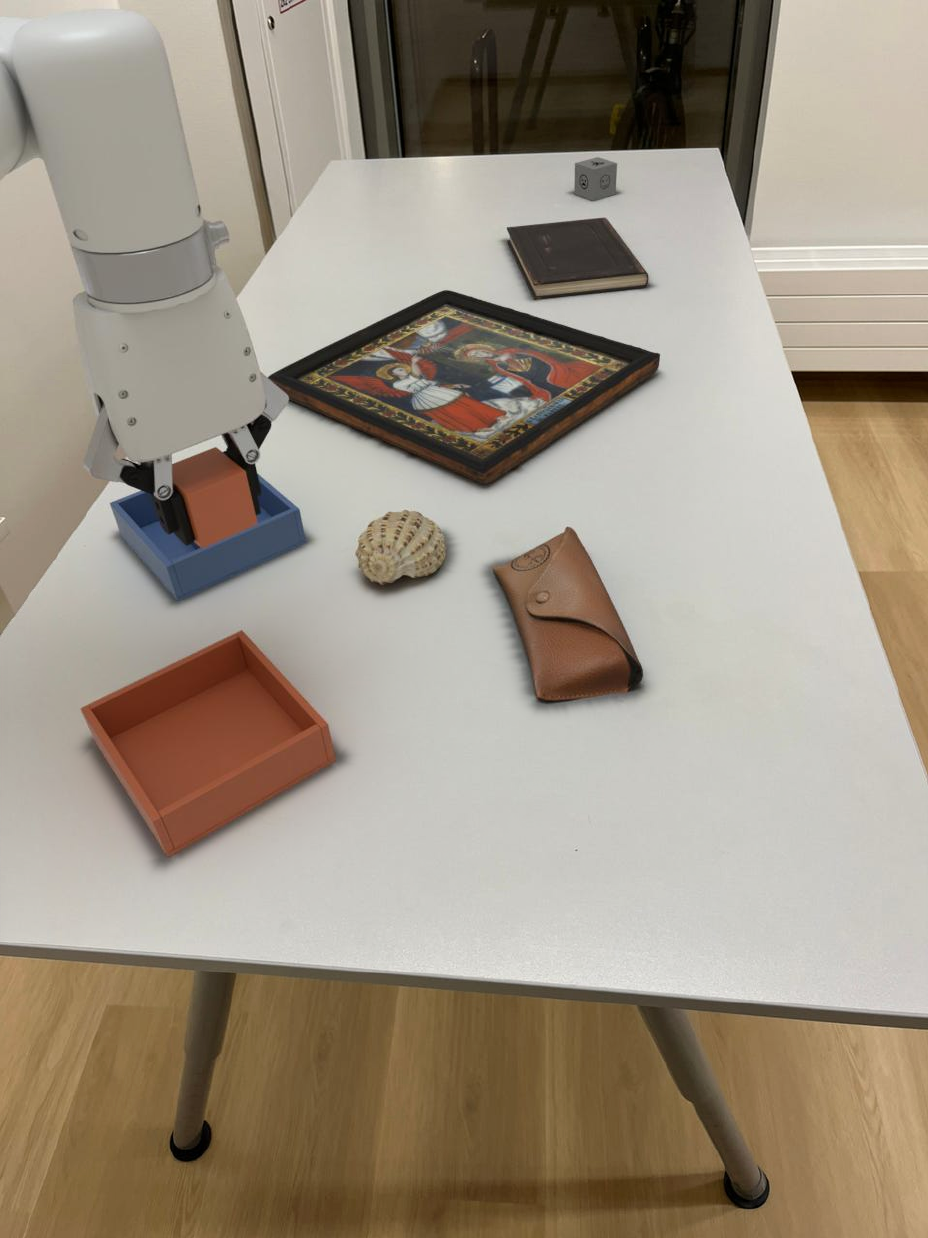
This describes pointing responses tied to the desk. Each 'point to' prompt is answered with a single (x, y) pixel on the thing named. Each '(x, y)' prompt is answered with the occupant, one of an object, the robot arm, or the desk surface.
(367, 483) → the desk surface
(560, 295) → the hardcover book
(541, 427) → the framed icon painting
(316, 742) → the terracotta bin
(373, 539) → the seashell
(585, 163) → the dice cube
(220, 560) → the blue bin
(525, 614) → the sunglasses case
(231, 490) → the terracotta block
